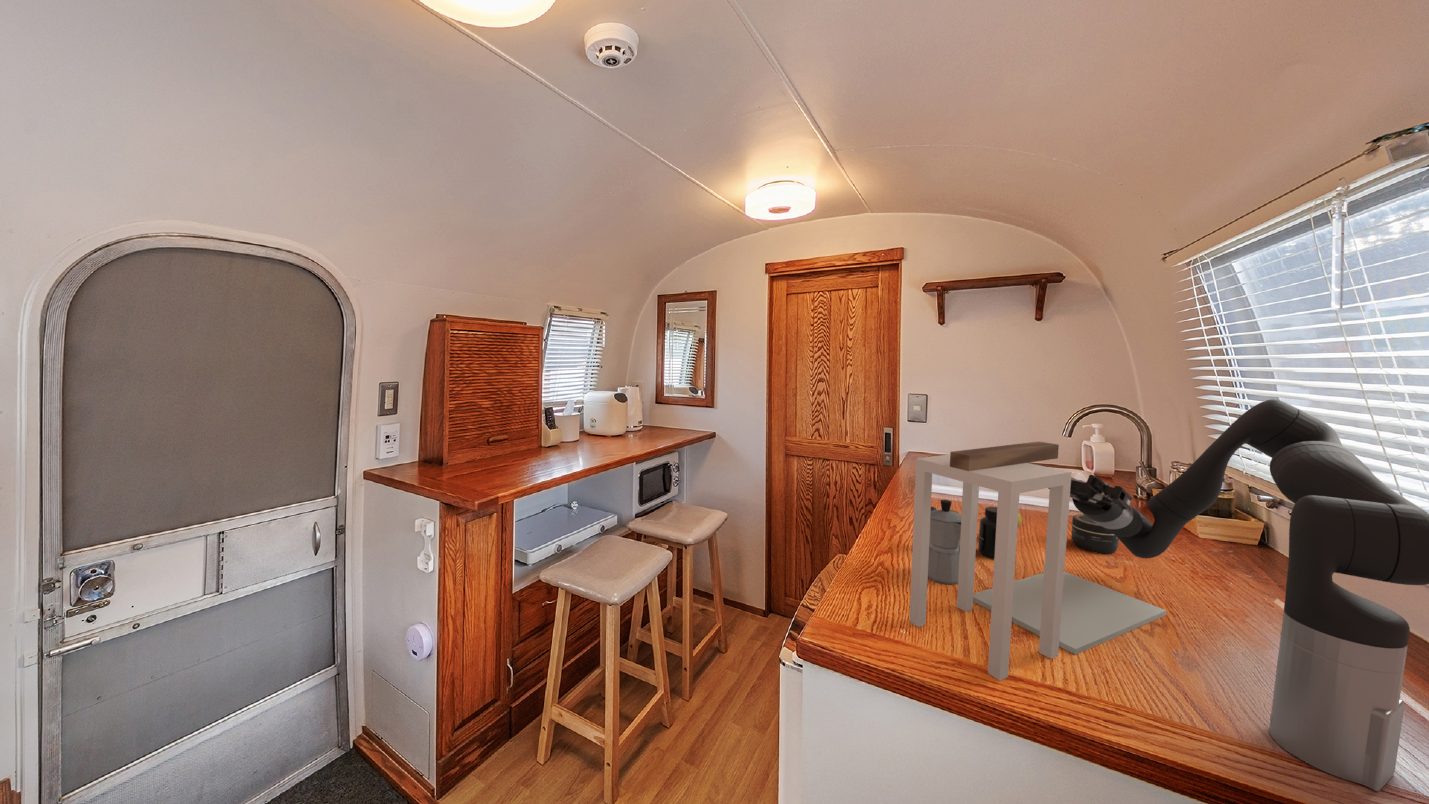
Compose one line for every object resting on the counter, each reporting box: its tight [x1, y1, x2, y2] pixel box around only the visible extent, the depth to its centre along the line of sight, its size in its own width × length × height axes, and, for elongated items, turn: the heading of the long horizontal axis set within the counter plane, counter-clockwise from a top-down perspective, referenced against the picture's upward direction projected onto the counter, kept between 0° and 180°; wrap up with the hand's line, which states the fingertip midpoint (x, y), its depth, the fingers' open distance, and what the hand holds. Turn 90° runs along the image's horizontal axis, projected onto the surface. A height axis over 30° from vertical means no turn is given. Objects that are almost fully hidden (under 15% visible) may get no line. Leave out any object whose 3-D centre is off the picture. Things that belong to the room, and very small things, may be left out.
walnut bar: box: [950, 441, 1060, 471], centre depth 83 cm, size 4×24×3 cm, turn 114°
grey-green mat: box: [973, 570, 1167, 656], centre depth 95 cm, size 20×30×1 cm, turn 114°
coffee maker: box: [928, 499, 962, 586], centre depth 108 cm, size 15×9×18 cm, turn 22°
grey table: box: [909, 453, 1073, 682], centre depth 83 cm, size 18×15×32 cm
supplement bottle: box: [977, 506, 997, 560], centre depth 119 cm, size 7×7×12 cm
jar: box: [1071, 513, 1120, 555], centre depth 124 cm, size 10×10×8 cm
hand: (1065, 474), depth 91 cm, fingers open, 8 cm apart
